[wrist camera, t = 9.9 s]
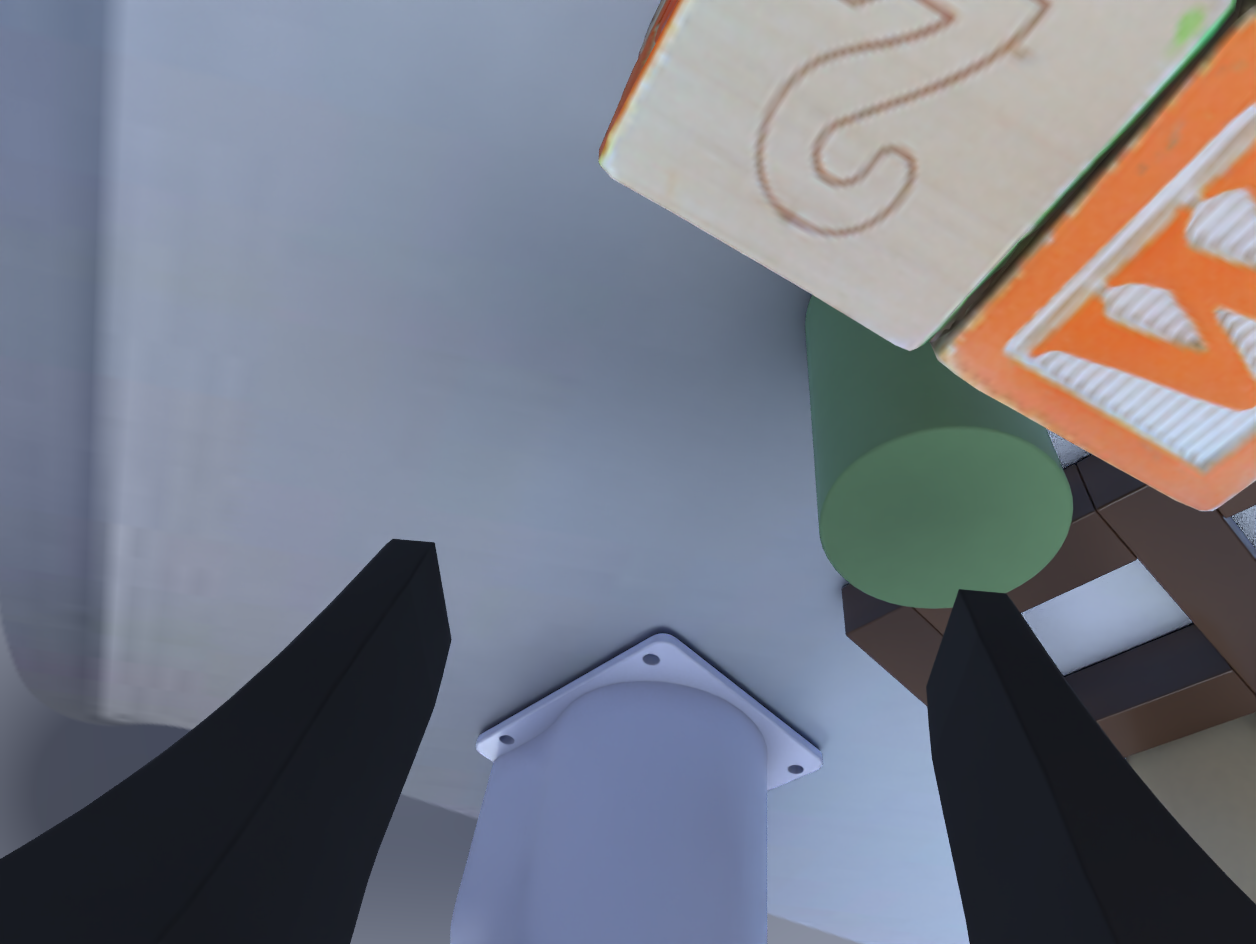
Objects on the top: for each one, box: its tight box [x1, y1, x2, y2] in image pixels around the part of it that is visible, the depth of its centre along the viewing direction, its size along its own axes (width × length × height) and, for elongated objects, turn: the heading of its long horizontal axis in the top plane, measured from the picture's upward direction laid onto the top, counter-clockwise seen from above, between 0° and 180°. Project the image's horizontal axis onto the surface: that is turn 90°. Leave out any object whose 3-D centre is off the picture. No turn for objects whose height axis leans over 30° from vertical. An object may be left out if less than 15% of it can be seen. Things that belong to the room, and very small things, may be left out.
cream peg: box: [1125, 712, 1256, 904], centre depth 25 cm, size 4×4×7 cm
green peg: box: [805, 295, 1073, 609], centre depth 18 cm, size 4×4×7 cm
